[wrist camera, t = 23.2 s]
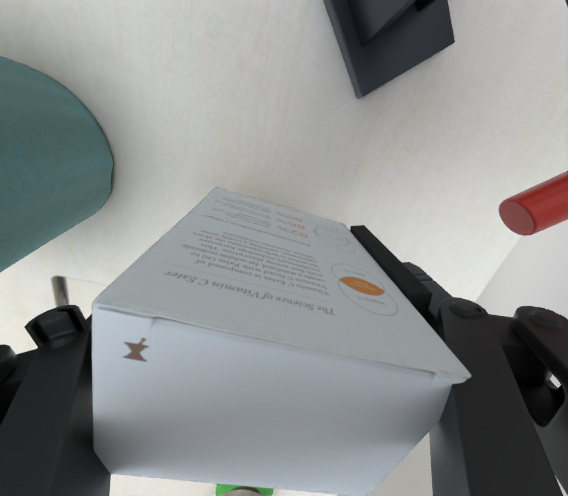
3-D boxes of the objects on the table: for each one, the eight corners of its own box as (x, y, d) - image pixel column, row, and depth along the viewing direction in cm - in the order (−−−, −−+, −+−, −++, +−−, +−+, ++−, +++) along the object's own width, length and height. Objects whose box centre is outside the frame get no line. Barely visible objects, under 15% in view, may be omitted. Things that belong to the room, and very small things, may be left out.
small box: (199, 267, 15) (80, 477, 6) (216, 183, 13) (70, 301, 4) (315, 295, 17) (369, 506, 7) (347, 223, 15) (487, 387, 5)
